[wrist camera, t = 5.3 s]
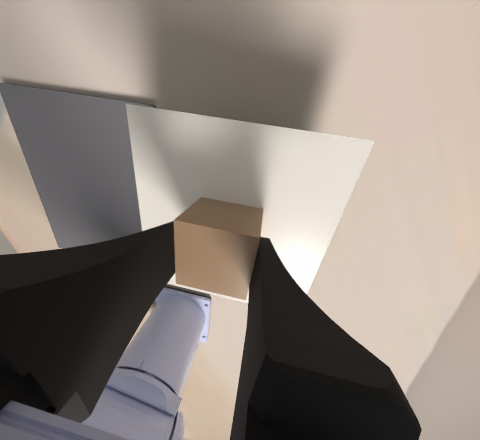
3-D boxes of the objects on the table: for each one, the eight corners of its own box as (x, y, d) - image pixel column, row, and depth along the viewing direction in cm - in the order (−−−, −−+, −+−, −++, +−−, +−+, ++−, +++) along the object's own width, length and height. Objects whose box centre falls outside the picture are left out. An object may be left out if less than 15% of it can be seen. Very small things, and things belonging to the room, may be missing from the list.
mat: (165, 269, 22) (163, 271, 22) (62, 245, 24) (58, 247, 23) (156, 106, 15) (152, 105, 14) (4, 83, 16) (-4, 82, 15)
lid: (296, 306, 15) (304, 365, 11) (154, 272, 16) (116, 315, 12) (366, 140, 9) (439, 141, 5) (135, 106, 10) (52, 85, 6)
